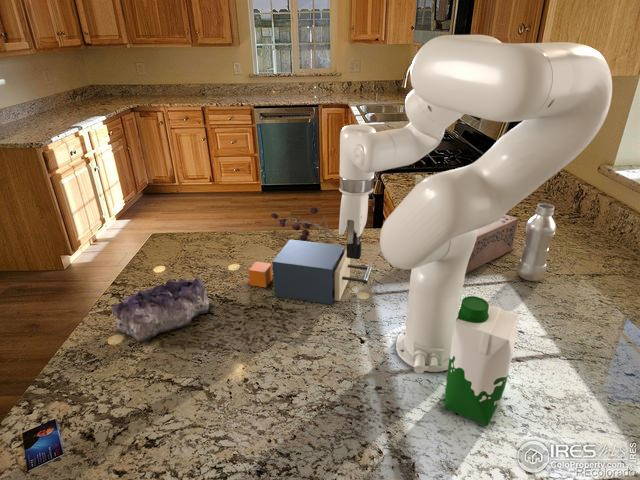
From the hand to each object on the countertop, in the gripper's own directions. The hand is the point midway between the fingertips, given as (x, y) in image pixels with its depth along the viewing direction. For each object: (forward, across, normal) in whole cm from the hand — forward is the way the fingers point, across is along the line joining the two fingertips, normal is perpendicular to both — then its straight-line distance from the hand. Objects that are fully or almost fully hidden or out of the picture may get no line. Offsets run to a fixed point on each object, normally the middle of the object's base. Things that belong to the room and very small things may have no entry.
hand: (353, 256), depth 101 cm
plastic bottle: (+10, -19, +43) cm, 48 cm away
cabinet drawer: (+9, 0, -6) cm, 11 cm away
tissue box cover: (+10, -29, +27) cm, 41 cm away
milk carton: (+10, +29, +27) cm, 41 cm away
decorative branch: (+11, -31, -23) cm, 40 cm away
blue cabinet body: (+10, 0, -11) cm, 15 cm away
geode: (+10, +22, -38) cm, 45 cm away
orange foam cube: (+10, +1, -24) cm, 26 cm away
